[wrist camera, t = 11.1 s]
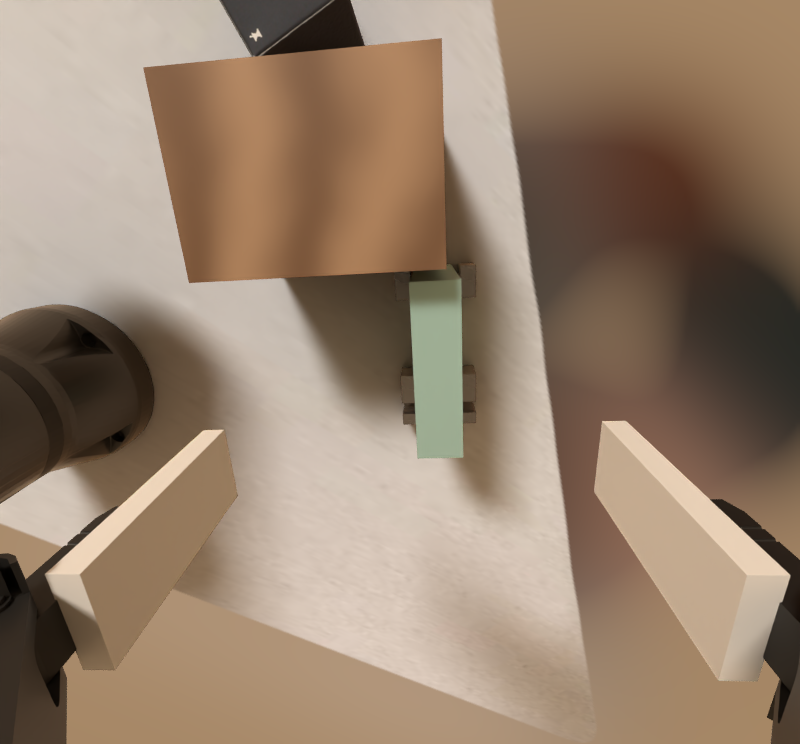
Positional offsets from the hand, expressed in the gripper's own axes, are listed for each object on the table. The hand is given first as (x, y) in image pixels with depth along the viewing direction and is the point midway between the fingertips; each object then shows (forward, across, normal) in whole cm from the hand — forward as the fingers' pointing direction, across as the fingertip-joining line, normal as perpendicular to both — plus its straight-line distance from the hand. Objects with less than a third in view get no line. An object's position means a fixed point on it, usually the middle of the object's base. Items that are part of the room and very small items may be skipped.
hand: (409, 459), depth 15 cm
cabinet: (+24, -5, +10) cm, 26 cm away
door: (+24, +2, -1) cm, 24 cm away
